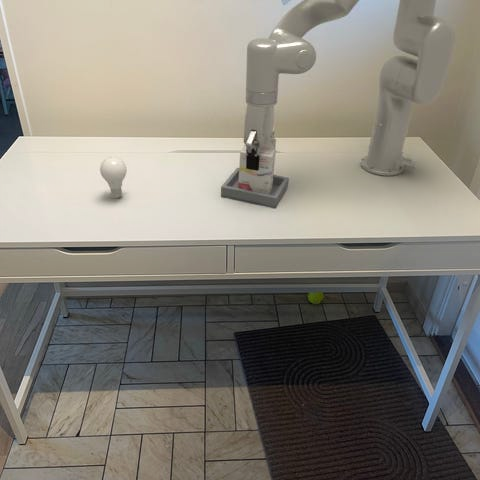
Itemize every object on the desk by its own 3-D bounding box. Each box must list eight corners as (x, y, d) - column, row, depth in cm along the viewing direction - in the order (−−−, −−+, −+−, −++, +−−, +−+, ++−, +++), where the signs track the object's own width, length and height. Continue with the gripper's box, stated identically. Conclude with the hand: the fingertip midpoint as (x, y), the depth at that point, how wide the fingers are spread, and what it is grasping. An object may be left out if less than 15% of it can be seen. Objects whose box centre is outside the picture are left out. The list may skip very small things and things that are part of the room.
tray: (288, 187, 130) (289, 177, 128) (275, 208, 120) (276, 198, 118) (236, 177, 133) (237, 167, 132) (220, 196, 124) (221, 186, 122)
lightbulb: (134, 194, 124) (129, 155, 117) (121, 205, 119) (116, 166, 113) (112, 189, 125) (107, 151, 119) (99, 200, 120) (93, 161, 114)
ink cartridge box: (237, 192, 125) (239, 140, 117) (242, 184, 129) (244, 133, 121) (269, 197, 123) (273, 145, 115) (272, 188, 127) (277, 137, 119)
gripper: (258, 83, 120) (255, 145, 129) (233, 105, 106) (233, 173, 116) (286, 86, 117) (281, 150, 127) (265, 109, 104) (262, 178, 114)
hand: (258, 161), depth 122 cm, fingers open, 9 cm apart
